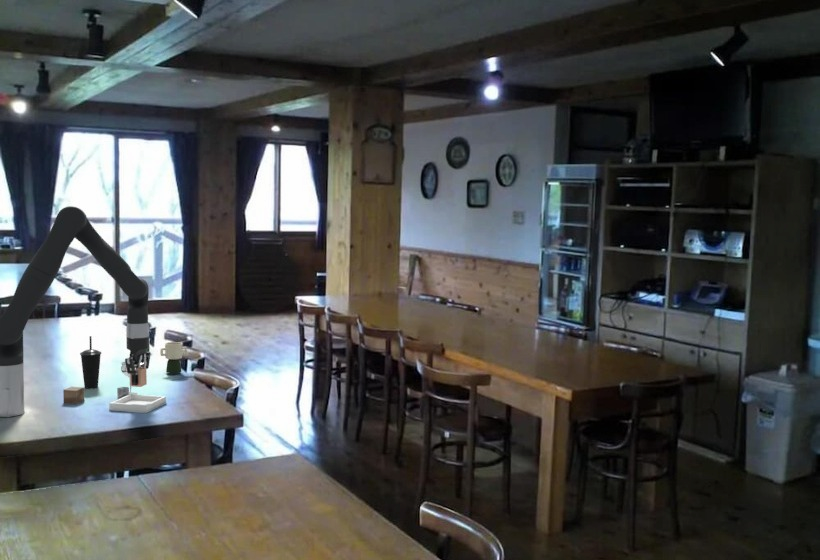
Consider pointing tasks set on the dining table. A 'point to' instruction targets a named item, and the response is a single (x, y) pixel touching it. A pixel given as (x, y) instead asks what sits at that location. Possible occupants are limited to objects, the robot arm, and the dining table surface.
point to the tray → (137, 403)
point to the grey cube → (122, 392)
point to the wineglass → (126, 373)
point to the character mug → (173, 356)
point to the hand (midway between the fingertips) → (138, 383)
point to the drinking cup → (90, 366)
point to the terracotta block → (140, 378)
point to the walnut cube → (73, 395)
